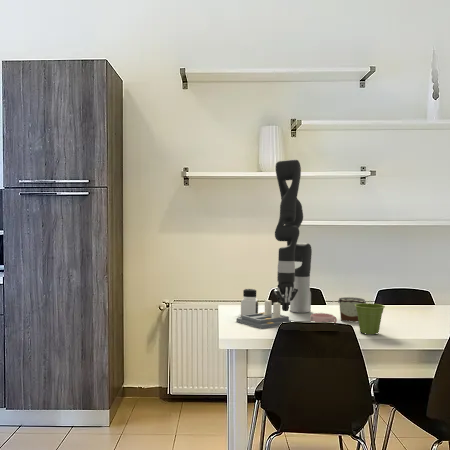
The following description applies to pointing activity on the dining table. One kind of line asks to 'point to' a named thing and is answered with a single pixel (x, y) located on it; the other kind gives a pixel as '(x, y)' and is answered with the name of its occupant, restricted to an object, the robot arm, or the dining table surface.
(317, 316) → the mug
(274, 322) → the dark gray tray
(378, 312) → the plant pot
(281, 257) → the robot arm
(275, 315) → the tab
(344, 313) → the food container
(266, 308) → the tab
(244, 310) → the medicine bottle
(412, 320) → the dining table surface
